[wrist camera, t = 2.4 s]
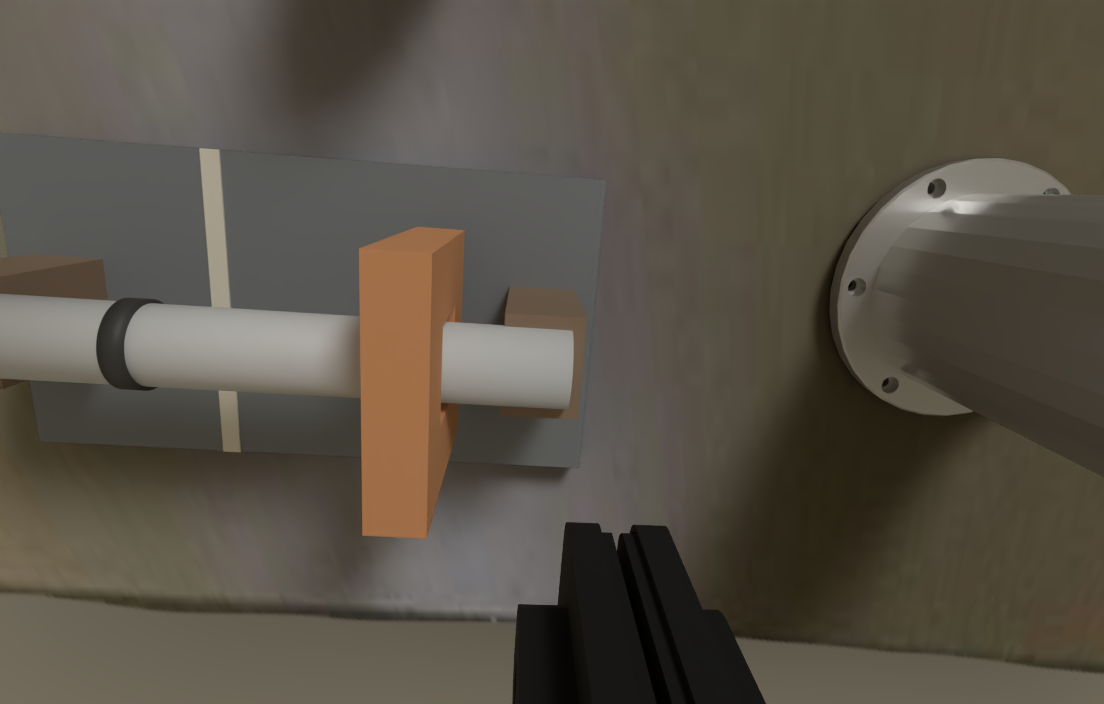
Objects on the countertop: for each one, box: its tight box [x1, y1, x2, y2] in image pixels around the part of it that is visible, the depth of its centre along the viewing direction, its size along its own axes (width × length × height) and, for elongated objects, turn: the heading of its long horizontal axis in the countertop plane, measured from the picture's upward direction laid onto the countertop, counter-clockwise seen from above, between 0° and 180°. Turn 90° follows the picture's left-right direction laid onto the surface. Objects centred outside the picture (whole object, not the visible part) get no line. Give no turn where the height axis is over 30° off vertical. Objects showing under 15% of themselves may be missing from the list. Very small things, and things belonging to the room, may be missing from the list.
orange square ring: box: [359, 227, 465, 538], centre depth 22 cm, size 2×9×9 cm, turn 176°
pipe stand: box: [0, 133, 606, 468], centre depth 24 cm, size 26×14×9 cm, turn 86°
